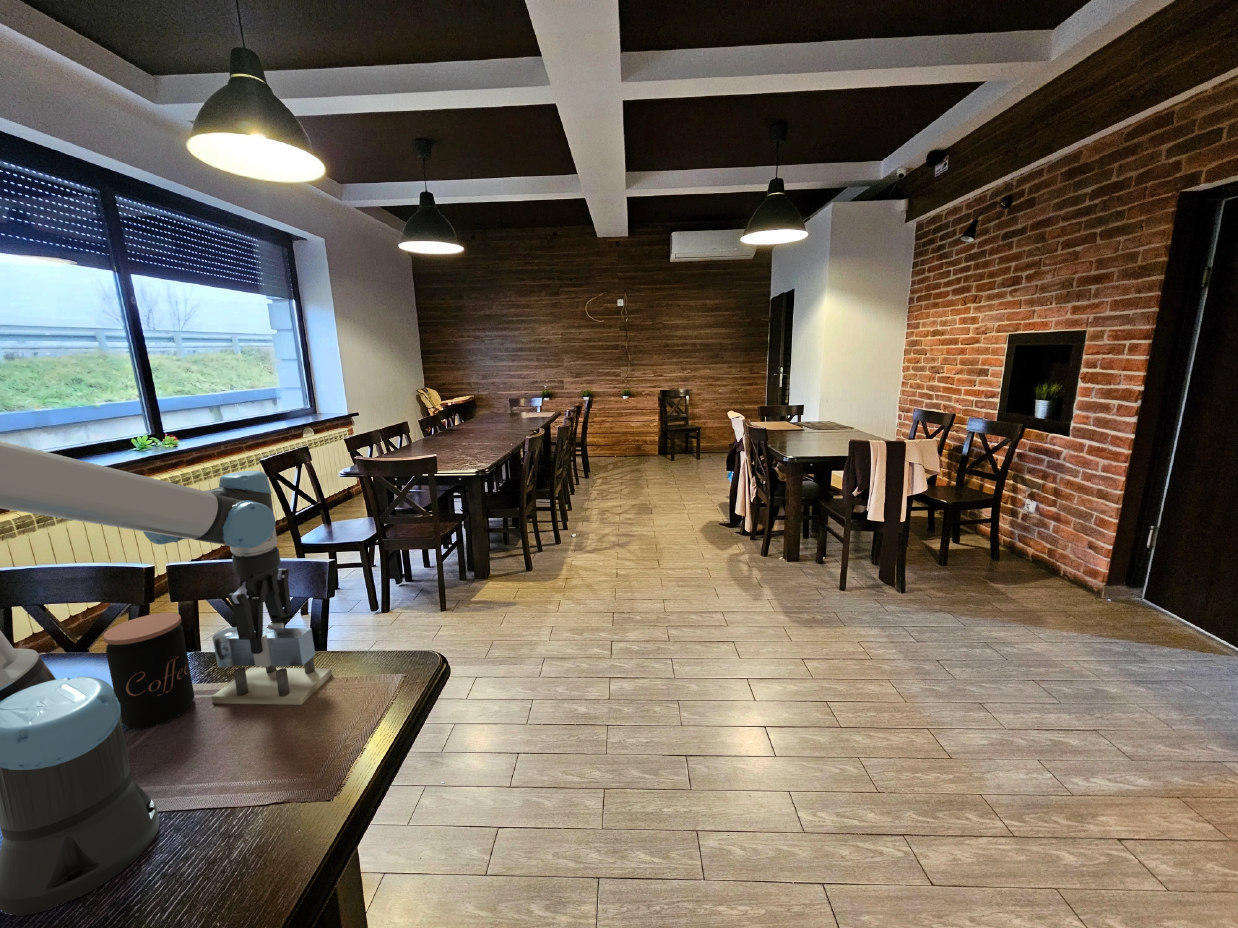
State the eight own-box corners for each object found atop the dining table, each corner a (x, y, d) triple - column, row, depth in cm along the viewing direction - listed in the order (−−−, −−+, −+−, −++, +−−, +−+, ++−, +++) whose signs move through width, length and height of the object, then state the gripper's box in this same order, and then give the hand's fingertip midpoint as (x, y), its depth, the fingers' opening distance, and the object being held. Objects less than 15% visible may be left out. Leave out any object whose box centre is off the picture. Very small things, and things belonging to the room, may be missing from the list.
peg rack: (301, 704, 98) (297, 674, 97) (212, 703, 99) (207, 673, 98) (332, 674, 108) (328, 646, 107) (251, 673, 109) (247, 646, 108)
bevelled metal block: (317, 653, 105) (313, 626, 104) (300, 667, 100) (296, 639, 99) (231, 653, 106) (226, 626, 105) (210, 667, 101) (205, 639, 100)
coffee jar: (127, 740, 89) (108, 646, 86) (115, 716, 96) (97, 628, 93) (202, 708, 98) (188, 622, 94) (187, 688, 104) (173, 607, 101)
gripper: (239, 566, 90) (258, 684, 94) (302, 536, 107) (316, 637, 111) (199, 566, 90) (219, 684, 95) (268, 536, 107) (283, 637, 111)
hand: (271, 658), depth 103 cm, fingers closed on bevelled metal block, 4 cm apart
